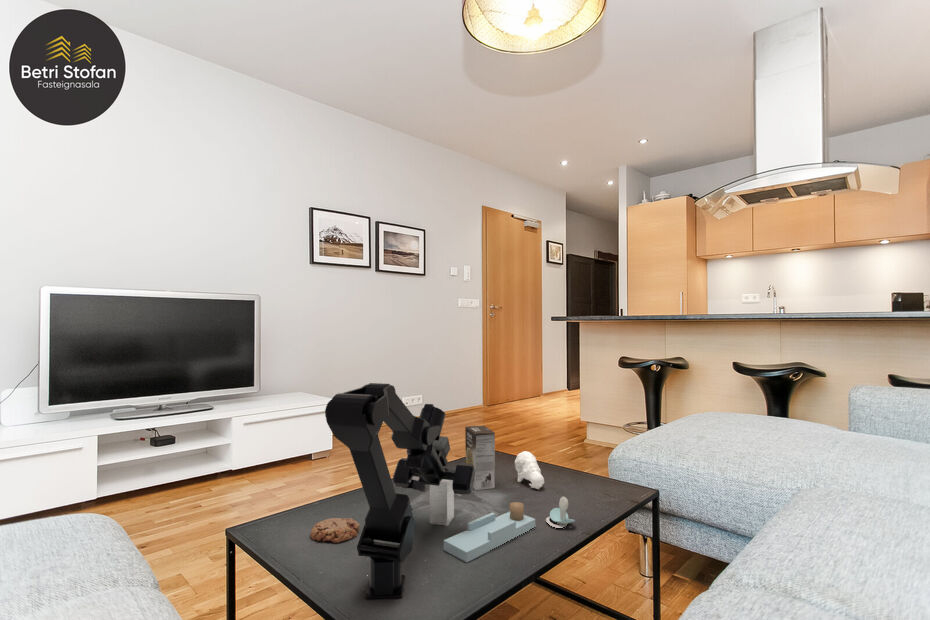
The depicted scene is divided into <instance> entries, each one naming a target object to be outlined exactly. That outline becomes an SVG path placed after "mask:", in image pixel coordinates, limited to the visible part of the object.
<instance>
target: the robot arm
mask: <svg viewBox="0 0 930 620" xmlns="http://www.w3.org/2000/svg"><path fill="white" fill-rule="evenodd" d="M324 412H325V413H324V417H325V419H326V424H327V425H328V428H329V430H330V431H331V433H332V435H333V437H335V439H337V440H338V441H339V442H341V443H342V444H343V445H345V447H347V448H348V449H349V452H350V454H351V458H352V461H353V463H354V467H355V469H356V473H357V475H358V478H359V481H360V484H361V486H362V490H363V492H364V495H365V498H366V501H367V504H368V507H369V509H368V512H367V514H366V515H365V518H364V525H363V528H362V532H361V534H360V537H359V540H358V543H357V545H356V549H357V554H358V557H367V558H369V559H368V561H369V564H368V565H369V570H368V571H369V577H368V579H369V580H368V582H367V586H366V590H365V591H364V592H365V593H364V599H366V600H368V599H374V600H375V599H397V598H398V599H399V598H402V597H403V596H404V595H403V594H404V588H405V583H406V582H405V581H406V575H405V574H402V573H403V569H402V567H403V565H402V563H403V562H404V560H406V558H407V557H408V556H409V555H410V553H411V552H412V551H413V543H414V536H415V529H416V528H415V527H416V520H415V517H414V515H413V510H414V508H413V507H412V505H411V501H410V500H411V499H410V497H409V496H408V494H405V493H404V494H403V493H397V492H396V491H395V487H394V485H395V486H396V487H401V488H402V489H407V490H413V491H417V492H422V493H426V490H427V487H426V486H427V485H429V486H430V485H437V486H439V485H440V482H441V481H442V479H445V480H453V483H452V489H453V491H454V495H456V496H457V497H462V496H463V495H465V496H466V495H470V493H472V491H473V482H474V477H475V473H476V470H475V468H474V466H473V465H471V464H466V463H461V462H460V463H457V464H456V466H455V468H446V467H447V465H448V459H447V457H448V454H449V453H450V451H451V446H450V439H449V437H448V436H443V435H441V433H442V430H443V426H444V422H445V418H446V413H445V411H443V410H442V409H441V408H439V407H436V406H434V404H433V403H425V404H424V406H423V407H422V408H421V410H420V413H419V416H416V415H414V414H413V413H412V412H411V411H410V409H409V408H408V407H407V405H406V404H405V403H404V402H403V400H402V399H401V398H400V397H399V396H398V394H397V393H396V388H395V386H394V385H393V384H390V383H381V382H379V383H377V382H375V383H373V382H370V383H368V384H367V383H366V384H364V385H363V386H361V387H357V388H355V389H351V390H348V391H345V392H342V393H341V392H338V393H337V394H335V395H334V396H333V397H331V399H330V400H329V401H328V402H327V404H326V406H325V410H324ZM383 423H384V424H386V426H387V427H388V428H389V429H390V430H391V431H392V433H391V437H390V439H391V440H392V442H393V444H394V445H395V447H396V448H397V449H403V450H406V454H407V456H406V458H405V457H401V458H400V459H399V460H398V461H397V463H396V466H395V469H394V472H393V476H392V477H391V474H390V471H389V466H388V464H387V460H386V457H385V454H384V451H383V448H382V445H381V440H380V438H379V433H380V431H381V429H382V426H383ZM393 483H394V484H393ZM380 541H382V542H380ZM387 542H389V543H387Z"/></svg>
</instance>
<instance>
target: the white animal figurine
mask: <svg viewBox="0 0 930 620" xmlns="http://www.w3.org/2000/svg"><path fill="white" fill-rule="evenodd" d="M514 467H515V470H516V471H517V472H516V473H517V482H518V483H521V482H522V481H523V480H524V479H525V480H527V481H529V482H530V483H529V486H530V489H536V490H537V489H538V490H540V488H542V487H543V485H544V484H545V478H544V476H543V475H542V473H541V471H542V470H541V468H540V467H539V464H538V462H537V457H536V456H535V455H534V454H533V453H531V452H530V451H526V450H525V451H524V450H523V451H522V452H520V453H518V454H517V456H516V458H515V460H514Z"/></svg>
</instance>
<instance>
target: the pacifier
mask: <svg viewBox="0 0 930 620" xmlns="http://www.w3.org/2000/svg"><path fill="white" fill-rule="evenodd" d="M568 507H569V501H568V498H567V497H565V496H561V497H560V499H559V503H558V507H555V508H552V509H551V510H550V512H549V516H548V517H546V518H545V522H547V523H548V524H549V525H550V527H551V526H552V527H551V528H553V527H555V528H554V529H556V528H563V527H565V526H566V525H567V524H568V525H569V524H570V523H574V522H575V521H576V519H571V518H569V514H568V513H567V510H568ZM550 519H551V520H550ZM551 521H553V522H554V523H555V524H554V523H553V522H551ZM556 522H557V523H559V524H562V525H558V524H557V523H556ZM547 523H546V524H547ZM548 524H547V525H548ZM549 525H548V526H549ZM565 528H566V527H565ZM563 529H564V528H563Z"/></svg>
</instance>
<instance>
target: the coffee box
mask: <svg viewBox="0 0 930 620" xmlns="http://www.w3.org/2000/svg"><path fill="white" fill-rule="evenodd" d="M464 428H465V436H464V437H465V440H464V441H465V464H471V465H473V466H474V468H475V470H476V473H475V477H474V482H473V487H472V490H473V489H474V491H481V490H488V489H489V490H490V489H495V487H496V485H495V484H496V483H495V481H496V477H495V476H496V475H495V474H496V473H495V472H496V469H495V468H496V460H495V459H496V434H495V431H493V430H492V429H491V428H489V427H488V426H486V425H470V426H469V425H468V426H465V427H464Z"/></svg>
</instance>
